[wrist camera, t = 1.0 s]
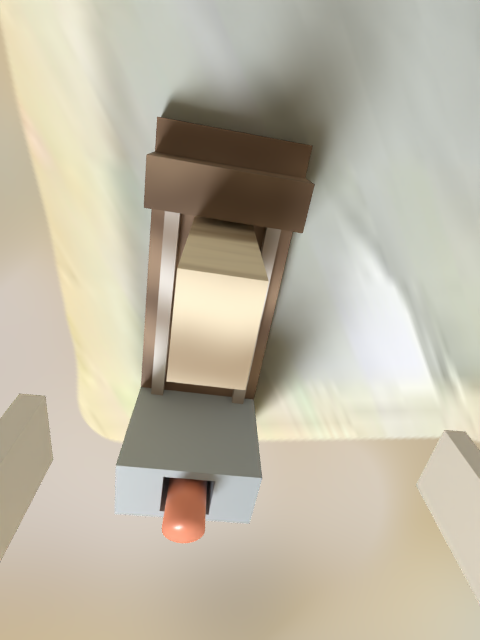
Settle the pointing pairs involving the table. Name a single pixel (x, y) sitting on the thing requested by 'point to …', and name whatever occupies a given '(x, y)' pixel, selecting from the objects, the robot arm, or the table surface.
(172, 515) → the button
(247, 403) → the cabinet
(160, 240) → the rail bed
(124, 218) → the table surface
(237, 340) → the carriage
